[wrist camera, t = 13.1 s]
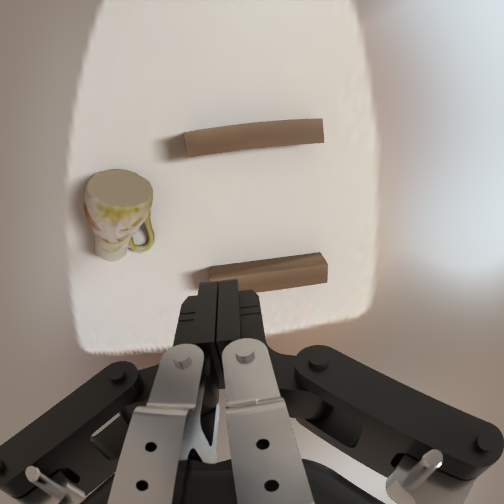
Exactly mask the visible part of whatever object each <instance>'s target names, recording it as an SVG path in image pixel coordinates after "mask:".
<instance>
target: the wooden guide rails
mask: <svg viewBox="0 0 504 504" xmlns="http://www.w3.org/2000/svg"><path fill="white" fill-rule="evenodd" d="M184 139H185V146H186V153H187V157H193V156H200V155H206V154H213V153H220V152H227V151H235V150H243V149H252V148H262V147H272V146H283V145H296V144H311V143H324V133H323V120H322V119H298V120H282V121H269V122H258V123H248V124H239V125H231V126H223V127H216V128H209V129H202V130H196V131H190V132H185V133H184ZM327 275H328V264H327V262H326V260H325V259H324V257H323V256H322V254H321V253H320V252H319V253H312V254H304V255H297V256H289V257H282V258H274V259H266V260H259V261H251V262H243V263H235V264H227V265H219V266H211V267H210V274H209V282H212V281H220V280H229V279H238V284H239V290H240V291H242V290H251V289H252V290H253V291H254V292H255V293H257V292H265V291H272V290H280V289H287V288H294V287H301V286H308V285H314V284H321V283H327Z"/></svg>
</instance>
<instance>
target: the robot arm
mask: <svg viewBox="0 0 504 504" xmlns="http://www.w3.org/2000/svg"><path fill="white" fill-rule="evenodd" d="M219 389H226V398H227V407H226V420H227V429H228V437H229V445H230V453H231V459H230V460H226V461H222V462H219V463H217V458H216V441H217V430H218V419H219V409H220V405H219ZM117 413H119V414H120V416H119V417H118V418H117V419H116V420H114V421H113V422H112V423H111V424H109V425H108V426H107V427H106V428H105V429H103V430H102V431H101V432H100V433H99V434H97V435H95V436H93V437H91V436H92V434H93V433H94V432H95V431H96V430H98V429H99V428H100V427H101V426H102V425H104V424H105V423H106V422H107V421H109V420H110V419H111V418H112V417H113V416H115V415H116V414H117ZM290 417H292V418H296V420H297V421H298V422H299V423H300V424H301V425H303V426H304V427H305V428H307V429H308V430H310V431H311V432H313V433H314V434H316V435H317V436H319V437H320V438H322V439H323V440H325V441H326V442H328V443H329V444H331V445H333V446H334V447H336V448H337V449H339V450H341V451H342V452H344V453H345V454H347V455H349V456H350V457H352V458H354V459H355V460H357V461H359V462H360V463H362V464H364V465H365V466H367V467H369V468H371V469H372V470H374V471H376V472H378V473H380V474H381V475H383V476H385V477H387V481H386V491H387V494H388V495H389V497H390V498H391V499H392V500H393V501H395V502H396V503H397V504H463V503H464V501H465V499H466V497H467V495H468V493H469V491H470V490H471V488H472V486H473V483H474V481H475V480H476V478H477V477H478V476H479V475H481V474H482V473H483V472H484V471H486V470H487V469H488V468H489V467H490V466H491V465H493V464H494V463H495V462H496V461H497V460H498V459H499V458H500V456H501V454H502V452H503V448H504V439H503V435H502V433H501V431H500V430H499V429H498V428H497V427H496V426H495V425H493V424H491V423H489V422H486V421H484V420H482V419H479V418H477V417H474V416H472V415H470V414H467V413H465V412H463V411H461V410H458V409H456V408H454V407H451V406H449V405H447V404H445V403H443V402H441V401H438V400H436V399H434V398H432V397H430V396H427V395H425V394H423V393H421V392H419V391H417V390H415V389H413V388H411V387H408V386H406V385H404V384H402V383H400V382H398V381H396V380H394V379H392V378H390V377H388V376H386V375H384V374H382V373H380V372H378V371H376V370H373V369H372V368H370V367H368V366H365V365H364V364H362V363H360V362H358V361H356V360H354V359H352V358H350V357H348V356H346V355H344V354H342V353H341V352H339V351H337V350H335V349H333V348H331V347H328V346H323V345H315V346H310V347H307V348H305V349H303V350H301V351H300V352H299V353H298V354H297V356H292V355H284V354H280V353H277V352H275V351H273V350H272V349H271V348H270V347H269V346H268V345H267V343H266V340H265V334H264V327H263V321H262V314H261V308H260V302H259V296H258V295H257V294H256V293H255V292H254V291H253V290H252V289H251V290H242V291H240V290H239V284H238V279H229V280H220V281H212V282H203V283H200V285H199V291H198V295H197V296H188V298H187V299H186V300H185V301H184V302H183V304H182V305H181V310H180V315H179V319H178V324H177V329H176V334H175V339H174V344H173V347H172V348H170V349H168V350H167V351H166V352H165V353H164V355H163V356H162V358H161V361H160V364H158V365H155V366H152V367H149V368H146V369H142V370H137V368H136V367H135V365H134V364H132V363H130V362H127V361H119V362H115V363H112V364H110V365H109V366H107V367H106V368H104V369H103V370H102V371H101V372H99V373H98V374H96V375H95V376H94V377H92V378H91V379H90V380H88V381H87V382H86V383H84V384H83V385H82V386H80V387H79V388H78V389H76V390H75V391H74V392H72V393H71V394H70V395H68V396H67V397H66V398H64V399H63V400H62V401H60V402H59V403H58V404H56V405H55V406H54V407H52V408H51V409H50V410H48V411H47V412H46V413H44V414H43V415H42V416H40V417H39V418H37V419H36V420H35V421H33V422H32V423H31V424H29V425H28V426H27V427H25V428H24V429H23V430H21V431H20V432H19V433H17V434H16V435H15V436H14V437H12V438H11V439H9V440H8V441H6V442H5V443H4V444H2V445H1V446H0V489H1V490H2V491H4V492H5V493H6V494H7V495H8V496H10V497H11V498H12V500H13V502H14V503H15V504H385V503H383V502H381V501H380V500H378V499H377V498H375V497H373V496H372V495H370V494H368V493H367V492H365V491H364V490H362V489H360V488H359V487H357V486H356V485H354V484H353V483H351V482H349V481H348V480H347V479H345V478H344V477H342V476H341V475H339V474H338V473H336V472H335V471H333V470H332V469H330V468H328V467H326V466H324V465H322V464H320V463H317V462H314V461H311V460H306V459H301V455H300V452H299V449H298V445H297V442H296V438H295V435H294V431H293V428H292V424H291V421H290ZM114 472H116V473H115V474H113V473H114ZM112 474H113V475H112ZM111 475H112V476H111ZM110 476H111V477H110ZM107 478H108V479H107ZM106 479H107V480H106ZM105 480H106V481H105ZM104 481H105V482H104ZM103 482H104V483H103ZM101 483H103V484H101ZM100 484H101V485H100ZM99 485H100V486H99ZM98 486H99V487H98ZM96 487H98V488H97V489H96V490H95V491H93V490H94V489H95V488H96ZM91 491H93V492H92V493H91V494H90V495H89V496H88V497H86V498H85V496H86V495H88V494H89V493H90V492H91Z"/></svg>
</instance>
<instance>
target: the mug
mask: <svg viewBox="0 0 504 504" xmlns="http://www.w3.org/2000/svg"><path fill="white" fill-rule="evenodd" d="M152 199H153V189H152V187H151V184H150V182H149V181H147V180H146V179H145V178H143V177H141V176H139V175H138V174H136V173H134V172H131V171H128V170H121V169H111V170H105V171H100V172H97V173H95V174H94V175H93V176H92V177H91V178H90V179H89V180H88V181H87V183H86V186H85V191H84V197H83V203H84V210H85V213H86V216H87V218H88V221H89V223H90V226H91V228H92V230H93V233H94V238H95V240H94V250H95V252H96V254H97V255H98V256H99V257H101V258H102V259H104V260H107V261H117V260H120V259H121V258H123V257H124V256H125V255H126V252H127V249H128V248H131V249H132V250H133V251H134V252H139V253H141V252H145V251H147V250H149V249H150V248H151V247H152V245H153V243H154V233H153V229H152V226H151V221H150V209H151V206H152ZM143 222H144V225H145V227H146V229H147V232H148V237H149V239H148V242H147V243H146V244H145V245H135V244H134V242H133V238H132V236H133V235H134V233H135V232H136V231H137V230H138V228H139V227H140V226H141V225H142V224H143Z"/></svg>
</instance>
